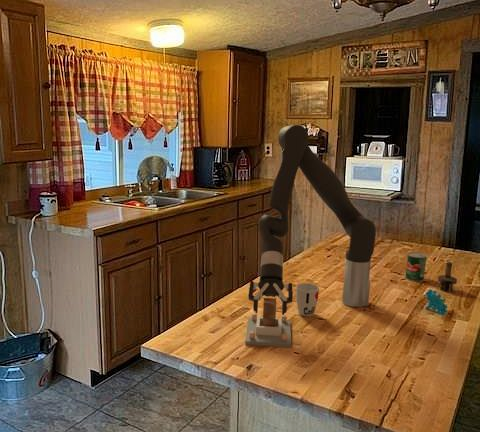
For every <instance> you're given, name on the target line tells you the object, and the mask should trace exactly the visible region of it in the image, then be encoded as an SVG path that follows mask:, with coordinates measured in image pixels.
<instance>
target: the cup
mask: <svg viewBox="0 0 480 432" xmlns="http://www.w3.org/2000/svg"><path fill="white" fill-rule="evenodd" d="M319 291H320V287H319V286H318V284H313V283H309V282H307V283H306V282H305V283H303V282H302V283H298V284H296V285H295V300H296V308H297V311H298V314H299V315H300V316H302V317H312V316H314V314H315V311H316V308H317V304H318V300H319Z"/></svg>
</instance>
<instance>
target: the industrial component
mask: <svg viewBox="0 0 480 432" xmlns="http://www.w3.org/2000/svg"><path fill="white" fill-rule="evenodd" d="M445 265H446V266H445V272H444V275H443V274H442V275H438V276H437V282H438V283H440V285H439V289H440V291H443V292H448V293H451V292H453V288H454V287H453V286H454V285H456V284H457V281H458V279H457V278H456V277H455V276H451V275H452V269H453V268H452V267H453V262H452V261H446V264H445Z"/></svg>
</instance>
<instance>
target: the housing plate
mask: <svg viewBox="0 0 480 432" xmlns="http://www.w3.org/2000/svg"><path fill="white" fill-rule="evenodd" d="M287 317H288V316H287V315H286V314H284V315H282V314H281V317H279V318H278V317H276V320H275V327H268V326H263V316H258V313H251V317H248V321H247V327H246V333H245V340H244V344H245V346H259V347H260V346H261V347H262V346H263V347H277V348H292V336H291V334H292V333H291V331H292V330H291V320H290V319H288V318H287Z"/></svg>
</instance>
